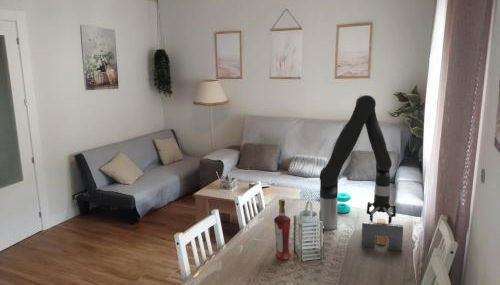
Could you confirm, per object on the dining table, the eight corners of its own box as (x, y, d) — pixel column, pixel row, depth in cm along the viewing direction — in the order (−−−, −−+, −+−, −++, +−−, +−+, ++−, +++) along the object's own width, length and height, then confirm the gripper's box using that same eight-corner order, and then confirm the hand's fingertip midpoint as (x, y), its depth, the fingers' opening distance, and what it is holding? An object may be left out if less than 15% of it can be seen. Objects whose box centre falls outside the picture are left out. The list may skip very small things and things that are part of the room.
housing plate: (361, 246, 177) (362, 223, 175) (361, 244, 179) (362, 221, 177) (402, 251, 171) (403, 226, 169) (401, 249, 173) (402, 225, 171)
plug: (376, 244, 179) (377, 234, 178) (376, 227, 198) (377, 218, 197) (385, 245, 178) (386, 235, 177) (384, 227, 196) (385, 219, 195)
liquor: (272, 256, 171) (270, 198, 166) (286, 252, 174) (285, 196, 169) (279, 263, 165) (278, 204, 159) (294, 259, 167) (293, 201, 162)
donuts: (334, 197, 216) (332, 192, 225) (334, 213, 218) (332, 207, 227) (352, 197, 215) (349, 191, 224) (351, 213, 217) (348, 207, 226)
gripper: (367, 194, 188) (366, 223, 192) (397, 196, 184) (395, 227, 187) (367, 189, 195) (366, 218, 199) (396, 192, 191) (394, 221, 194)
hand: (380, 222), depth 193 cm, fingers open, 8 cm apart
